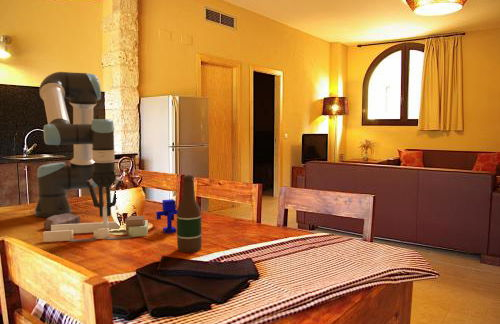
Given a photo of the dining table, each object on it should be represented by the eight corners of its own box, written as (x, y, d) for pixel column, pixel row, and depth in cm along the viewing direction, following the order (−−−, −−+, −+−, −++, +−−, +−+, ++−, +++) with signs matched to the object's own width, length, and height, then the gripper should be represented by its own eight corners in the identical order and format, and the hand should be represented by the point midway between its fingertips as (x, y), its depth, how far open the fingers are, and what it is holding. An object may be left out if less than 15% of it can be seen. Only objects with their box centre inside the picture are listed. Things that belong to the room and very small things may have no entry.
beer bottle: (178, 246, 134) (177, 174, 132) (202, 245, 135) (201, 174, 133) (176, 253, 126) (174, 177, 124) (201, 252, 127) (200, 177, 125)
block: (128, 231, 153) (127, 216, 152) (144, 231, 154) (143, 215, 154) (126, 236, 147) (126, 219, 147) (143, 235, 148) (143, 219, 148)
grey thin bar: (71, 240, 141) (71, 239, 141) (130, 237, 145) (130, 236, 145) (69, 242, 139) (69, 241, 139) (129, 238, 143) (129, 237, 143)
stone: (57, 231, 154) (56, 219, 154) (41, 229, 158) (41, 218, 158) (82, 224, 165) (82, 213, 164) (67, 223, 169) (66, 212, 168)
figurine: (155, 233, 150) (154, 201, 149) (166, 228, 157) (165, 198, 156) (173, 235, 148) (172, 202, 147) (183, 230, 155) (182, 199, 154)
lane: (51, 234, 150) (51, 224, 149) (148, 228, 157) (147, 220, 157) (43, 242, 139) (42, 232, 139) (146, 236, 147) (146, 226, 146)
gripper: (82, 162, 142) (85, 228, 144) (121, 162, 144) (123, 226, 147) (86, 160, 149) (88, 223, 151) (123, 160, 152) (125, 221, 154)
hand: (105, 224), depth 149 cm, fingers closed
